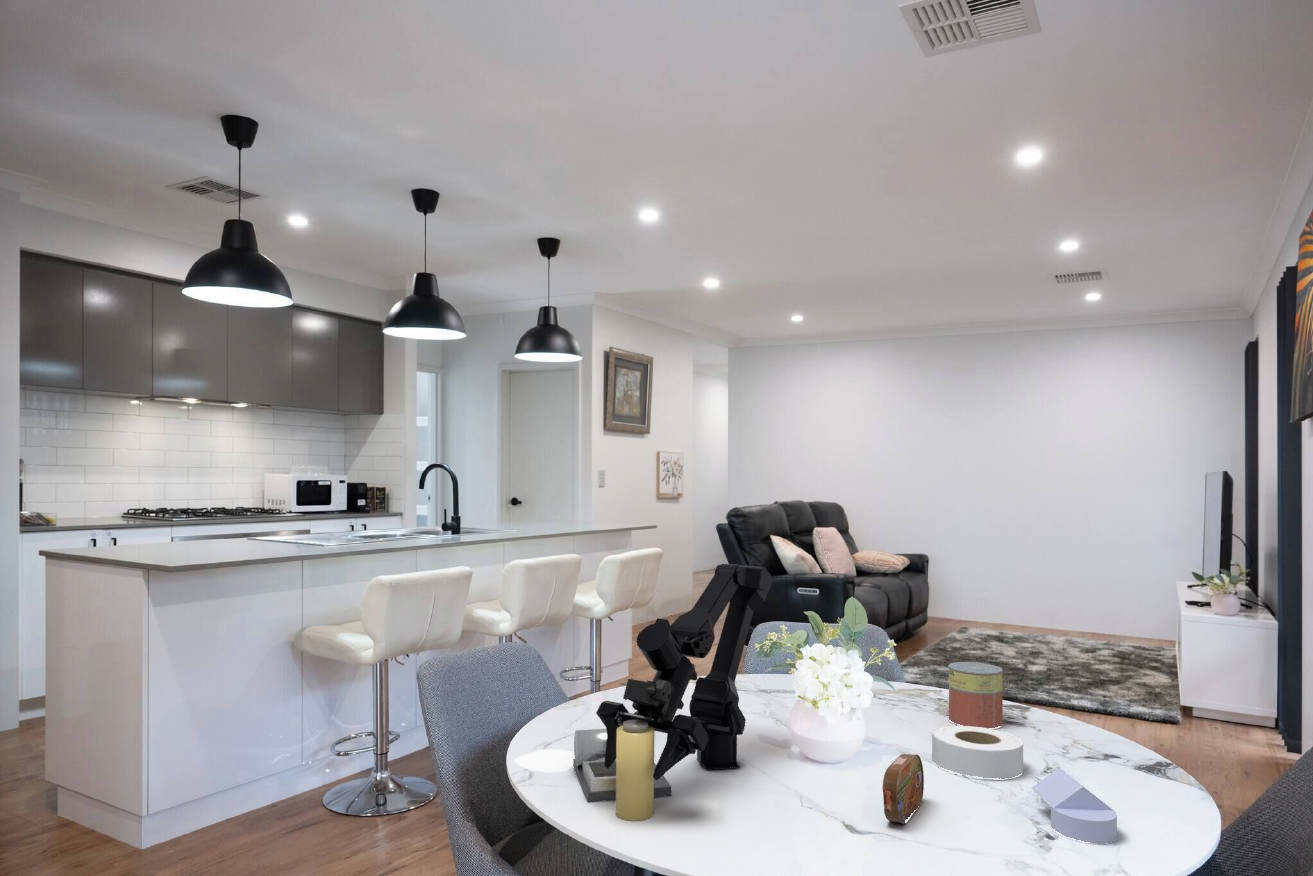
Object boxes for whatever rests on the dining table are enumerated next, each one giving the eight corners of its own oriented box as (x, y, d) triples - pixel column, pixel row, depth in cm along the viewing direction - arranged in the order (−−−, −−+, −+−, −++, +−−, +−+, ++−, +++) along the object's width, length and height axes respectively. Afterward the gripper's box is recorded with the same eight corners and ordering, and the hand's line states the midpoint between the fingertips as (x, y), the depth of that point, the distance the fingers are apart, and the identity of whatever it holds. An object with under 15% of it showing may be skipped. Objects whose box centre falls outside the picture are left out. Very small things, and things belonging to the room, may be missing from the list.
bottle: (648, 804, 138) (649, 717, 138) (657, 819, 132) (658, 727, 132) (612, 807, 136) (613, 719, 137) (619, 822, 130) (620, 729, 131)
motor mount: (648, 762, 158) (648, 721, 158) (671, 795, 142) (671, 750, 142) (573, 767, 155) (573, 725, 155) (587, 802, 138) (588, 755, 139)
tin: (899, 832, 128) (899, 775, 129) (879, 827, 130) (879, 771, 130) (925, 800, 141) (925, 749, 141) (906, 797, 143) (906, 745, 143)
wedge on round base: (1031, 809, 138) (1066, 843, 125) (1030, 767, 138) (1065, 797, 125) (1087, 810, 138) (1128, 845, 125) (1087, 768, 138) (1128, 798, 125)
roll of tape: (928, 750, 168) (928, 721, 168) (1013, 757, 165) (1013, 727, 165) (937, 777, 153) (937, 746, 153) (1031, 785, 149) (1031, 753, 150)
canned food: (957, 712, 195) (956, 659, 196) (1008, 721, 188) (1008, 666, 189) (941, 723, 186) (941, 668, 186) (995, 733, 179) (995, 675, 180)
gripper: (603, 651, 143) (561, 734, 134) (700, 666, 133) (661, 756, 124) (629, 689, 150) (590, 771, 140) (723, 706, 140) (688, 795, 130)
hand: (630, 772), depth 133 cm, fingers open, 9 cm apart
